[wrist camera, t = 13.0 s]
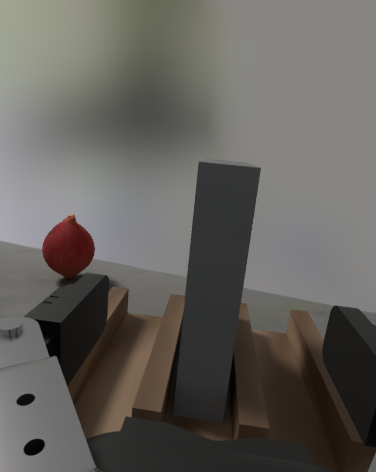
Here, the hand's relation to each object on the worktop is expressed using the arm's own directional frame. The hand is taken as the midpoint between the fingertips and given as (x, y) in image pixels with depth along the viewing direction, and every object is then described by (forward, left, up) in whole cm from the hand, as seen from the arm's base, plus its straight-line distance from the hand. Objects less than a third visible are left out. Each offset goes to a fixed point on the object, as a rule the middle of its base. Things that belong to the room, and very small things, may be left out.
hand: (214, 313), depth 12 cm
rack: (+2, -10, -11) cm, 15 cm away
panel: (+2, -10, -10) cm, 14 cm away
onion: (+22, -21, -11) cm, 33 cm away
